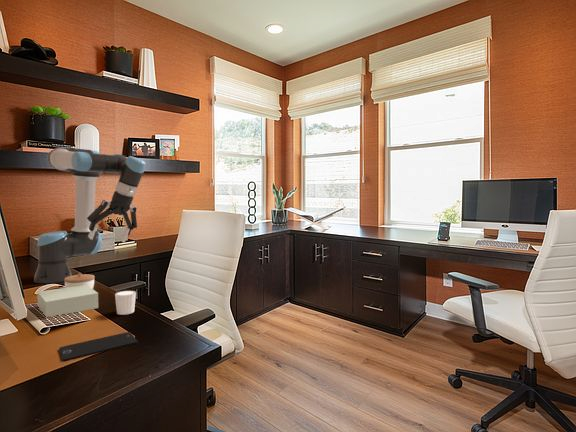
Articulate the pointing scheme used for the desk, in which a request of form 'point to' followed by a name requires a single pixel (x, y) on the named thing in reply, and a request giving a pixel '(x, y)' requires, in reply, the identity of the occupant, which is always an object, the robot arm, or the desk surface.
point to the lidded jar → (80, 280)
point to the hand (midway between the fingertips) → (106, 239)
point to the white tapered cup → (125, 302)
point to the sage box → (67, 300)
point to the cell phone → (96, 346)
